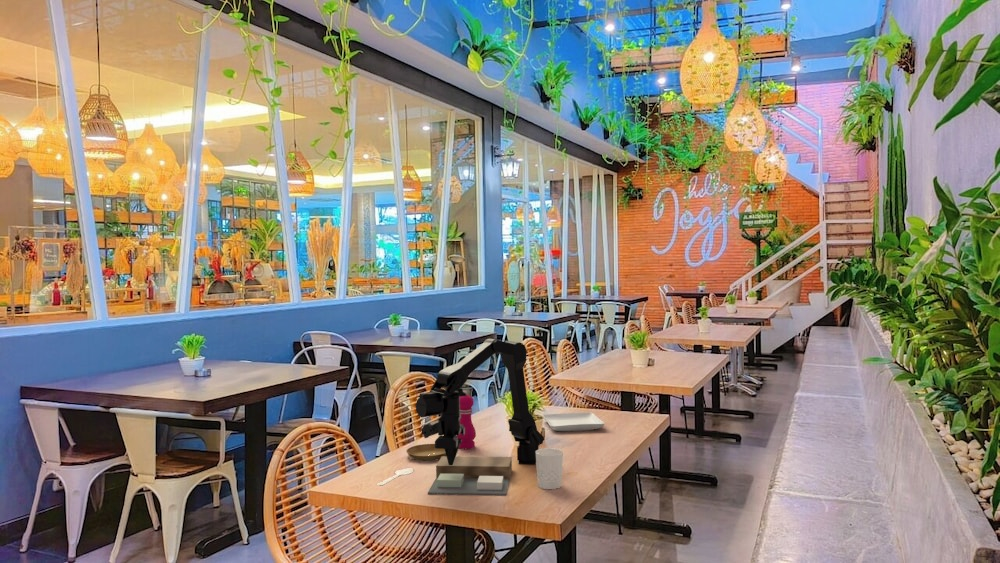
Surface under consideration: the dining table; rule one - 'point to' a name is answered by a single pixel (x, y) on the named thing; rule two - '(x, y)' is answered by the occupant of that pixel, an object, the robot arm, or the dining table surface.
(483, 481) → the tile cream
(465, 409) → the pepper mill
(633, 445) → the dining table surface
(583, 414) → the salad plate
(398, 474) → the spoon
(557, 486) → the white cup
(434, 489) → the mat
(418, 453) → the plant saucer
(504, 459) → the deck
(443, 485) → the tile sage
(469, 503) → the dining table surface
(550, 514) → the dining table surface
